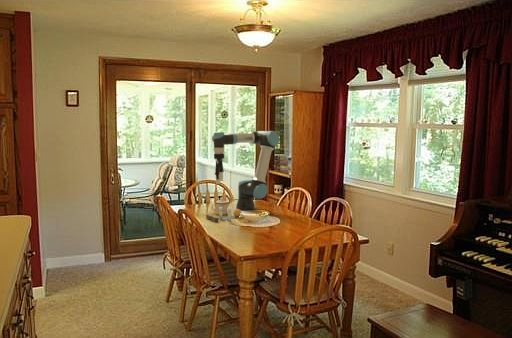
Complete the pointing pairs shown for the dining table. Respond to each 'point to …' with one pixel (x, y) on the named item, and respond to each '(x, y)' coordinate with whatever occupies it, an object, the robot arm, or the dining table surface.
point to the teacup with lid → (221, 204)
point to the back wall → (212, 218)
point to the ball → (237, 212)
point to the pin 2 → (229, 214)
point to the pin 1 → (220, 212)
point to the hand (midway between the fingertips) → (219, 182)
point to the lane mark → (227, 218)
